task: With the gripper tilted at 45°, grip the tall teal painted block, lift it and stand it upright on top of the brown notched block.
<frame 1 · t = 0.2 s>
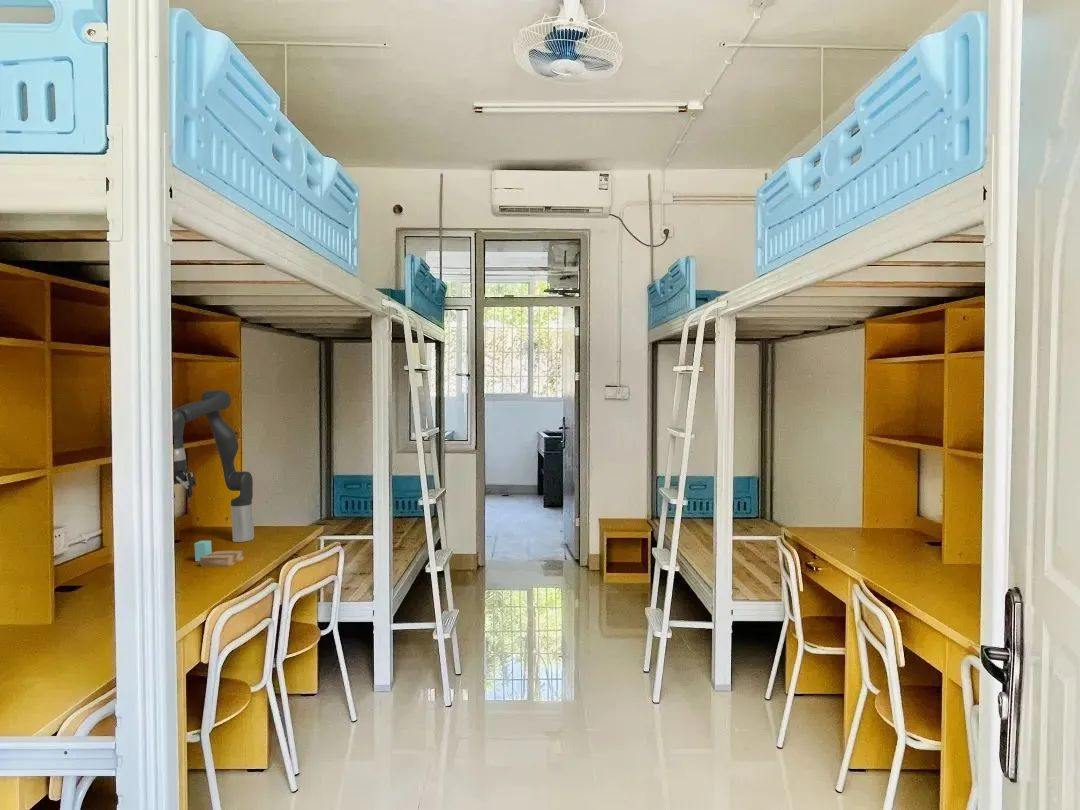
hand: (180, 497, 277), 28 cm above the table, tool pointing down, fingers open, 8 cm apart
teal block: (203, 560, 285), on the table
brown notched block: (222, 563, 280), on the table
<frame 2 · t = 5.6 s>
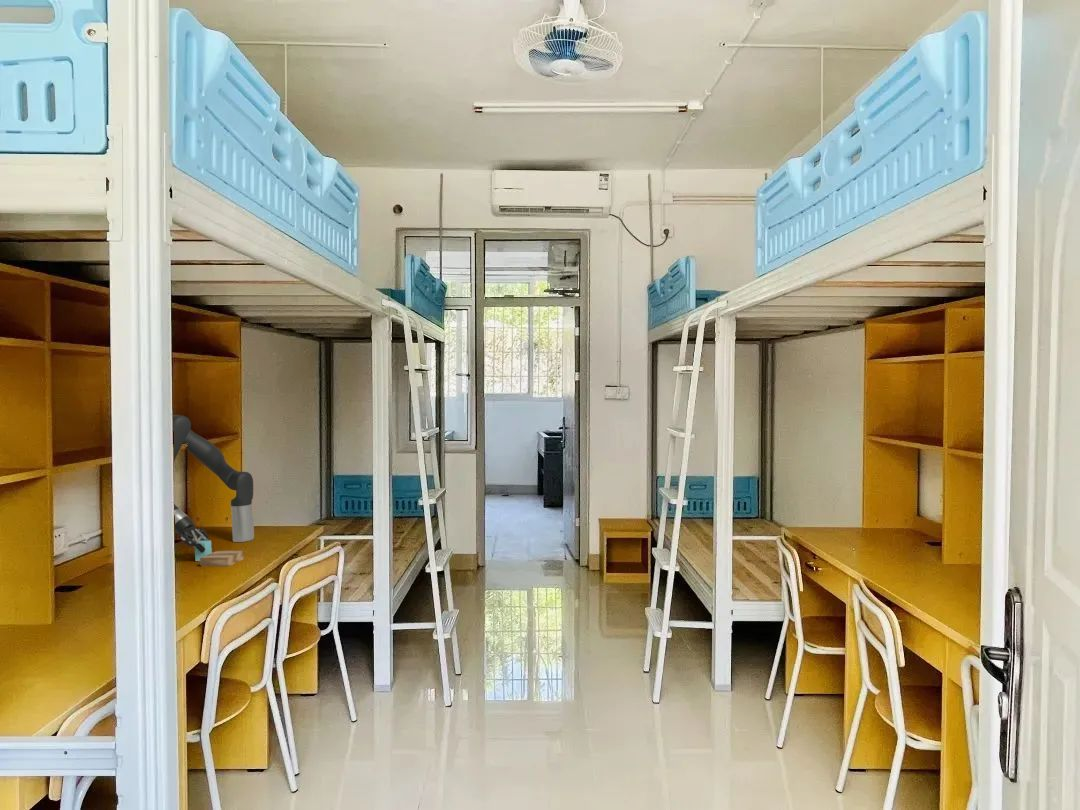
hand: (207, 549, 284), 5 cm above the table, tool tilted 45°, fingers closed on teal block, 4 cm apart
teal block: (203, 560, 285), on the table, touching gripper
everything else where it was.
when the fingers open (10 cm above the table, at t = 10.7 s): teal block drops 2 cm, point 4 cm above the table.
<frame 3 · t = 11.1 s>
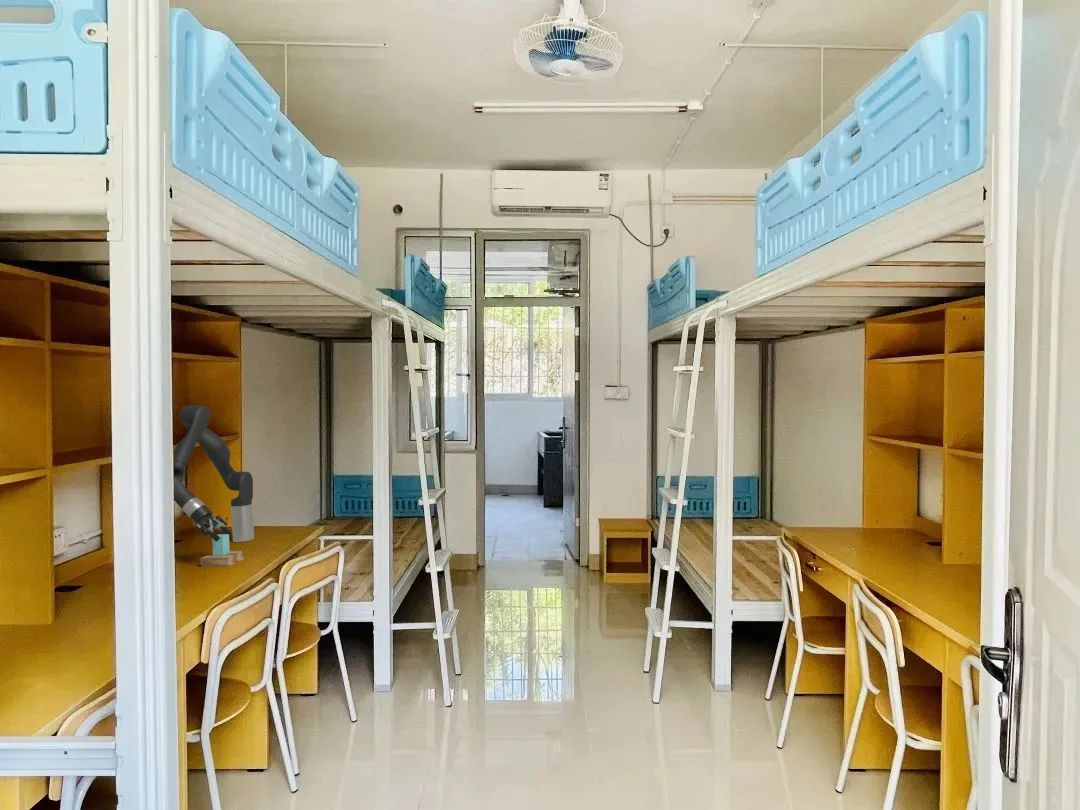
hand: (224, 537, 279), 11 cm above the table, tool tilted 45°, fingers open, 8 cm apart
teal block: (221, 554, 280), point 4 cm above the table
everything else where it was.
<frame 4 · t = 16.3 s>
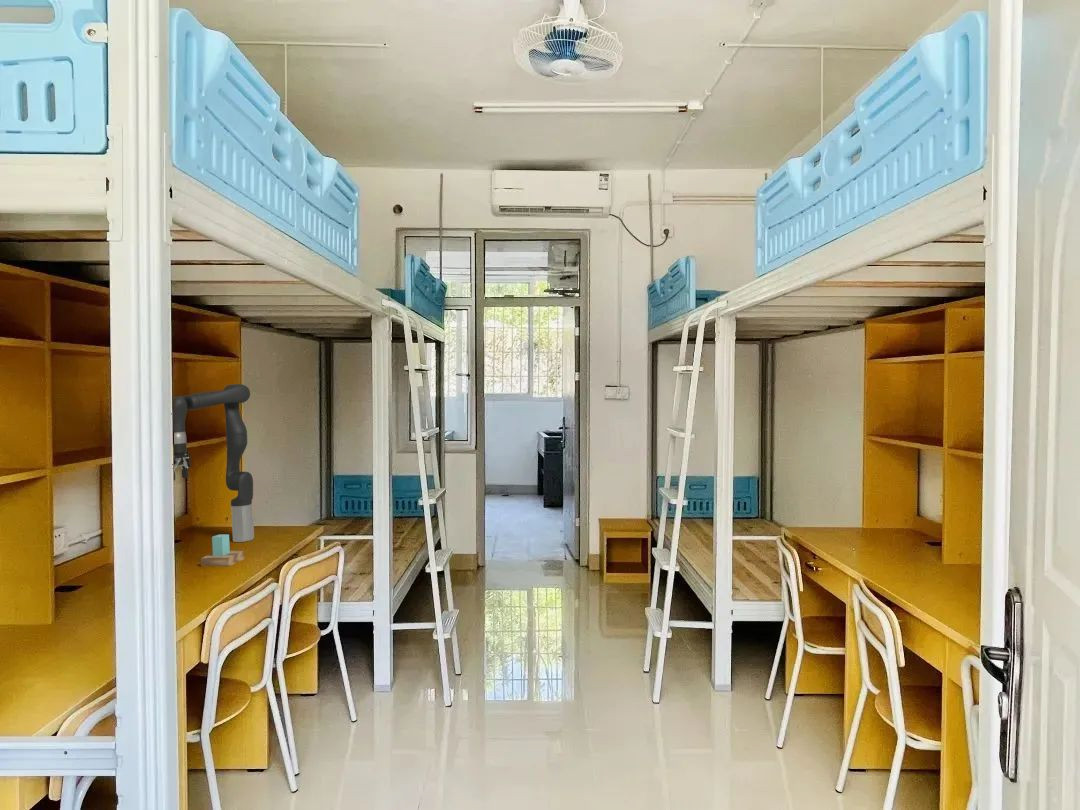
hand: (178, 479, 293), 34 cm above the table, tool pointing down, fingers open, 8 cm apart
teal block: (221, 554, 279), point 3 cm above the table, touching brown notched block
brown notched block: (223, 563, 280), on the table, touching teal block
everything else where it was.
at the end: teal block 0.4 cm off-centre on the brown notched block, point 4.0 cm above the brown notched block's base; teal block tilted 1°; the gripper is holding nothing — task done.
